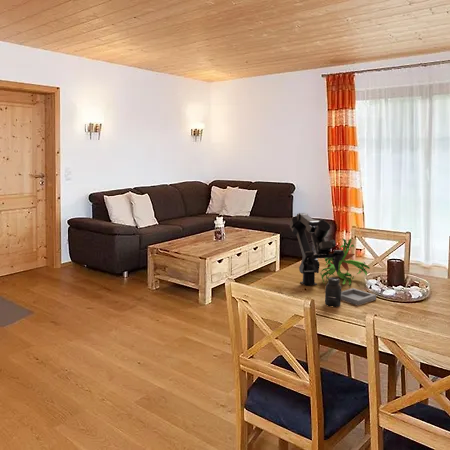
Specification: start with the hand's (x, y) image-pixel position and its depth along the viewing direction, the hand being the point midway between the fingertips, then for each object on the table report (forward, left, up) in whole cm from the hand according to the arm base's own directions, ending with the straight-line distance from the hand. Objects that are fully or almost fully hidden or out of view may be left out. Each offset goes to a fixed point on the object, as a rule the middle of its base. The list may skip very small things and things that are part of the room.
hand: (327, 272), depth 203 cm
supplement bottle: (+7, -1, -13) cm, 15 cm away
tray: (+4, +13, -13) cm, 19 cm away
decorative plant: (-23, +24, -13) cm, 36 cm away
